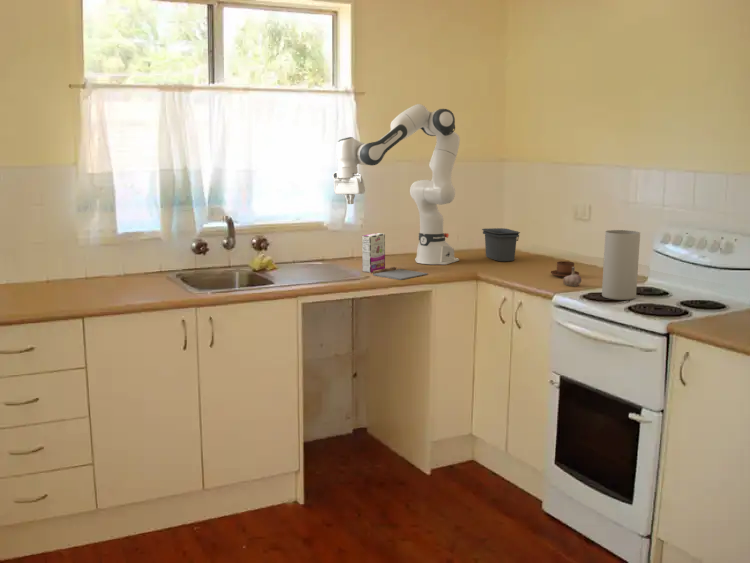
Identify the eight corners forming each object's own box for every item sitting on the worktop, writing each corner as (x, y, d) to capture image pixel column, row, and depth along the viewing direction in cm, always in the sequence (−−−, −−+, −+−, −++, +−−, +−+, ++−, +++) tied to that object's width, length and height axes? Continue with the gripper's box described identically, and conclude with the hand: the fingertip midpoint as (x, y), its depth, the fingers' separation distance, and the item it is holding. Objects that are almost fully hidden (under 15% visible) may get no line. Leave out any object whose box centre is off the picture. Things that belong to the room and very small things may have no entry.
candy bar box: (376, 268, 371) (376, 232, 368) (385, 269, 368) (385, 233, 365) (361, 271, 362) (361, 235, 359) (370, 272, 359) (370, 236, 356)
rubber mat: (400, 270, 366) (400, 268, 366) (427, 274, 356) (427, 273, 355) (372, 275, 353) (372, 273, 353) (400, 280, 343) (400, 278, 342)
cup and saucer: (552, 273, 361) (552, 259, 360) (579, 275, 358) (580, 261, 357) (549, 278, 350) (550, 264, 349) (578, 279, 346) (579, 265, 345)
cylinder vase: (642, 299, 306) (647, 233, 301) (613, 301, 302) (617, 234, 297) (623, 293, 317) (627, 229, 313) (595, 295, 314) (599, 230, 309)
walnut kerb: (394, 270, 366) (394, 267, 366) (396, 270, 365) (396, 267, 365) (372, 274, 356) (372, 270, 356) (374, 274, 355) (374, 271, 355)
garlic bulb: (579, 288, 328) (580, 268, 327) (561, 286, 331) (562, 267, 329) (582, 284, 335) (583, 265, 334) (563, 283, 338) (564, 264, 336)
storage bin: (478, 256, 408) (479, 228, 406) (507, 255, 412) (508, 227, 410) (495, 263, 388) (496, 233, 386) (525, 261, 392) (526, 232, 389)
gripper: (366, 172, 363) (369, 203, 365) (341, 173, 380) (344, 203, 382) (355, 173, 360) (357, 204, 362) (330, 174, 376) (332, 204, 378)
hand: (350, 204), depth 372 cm, fingers closed
